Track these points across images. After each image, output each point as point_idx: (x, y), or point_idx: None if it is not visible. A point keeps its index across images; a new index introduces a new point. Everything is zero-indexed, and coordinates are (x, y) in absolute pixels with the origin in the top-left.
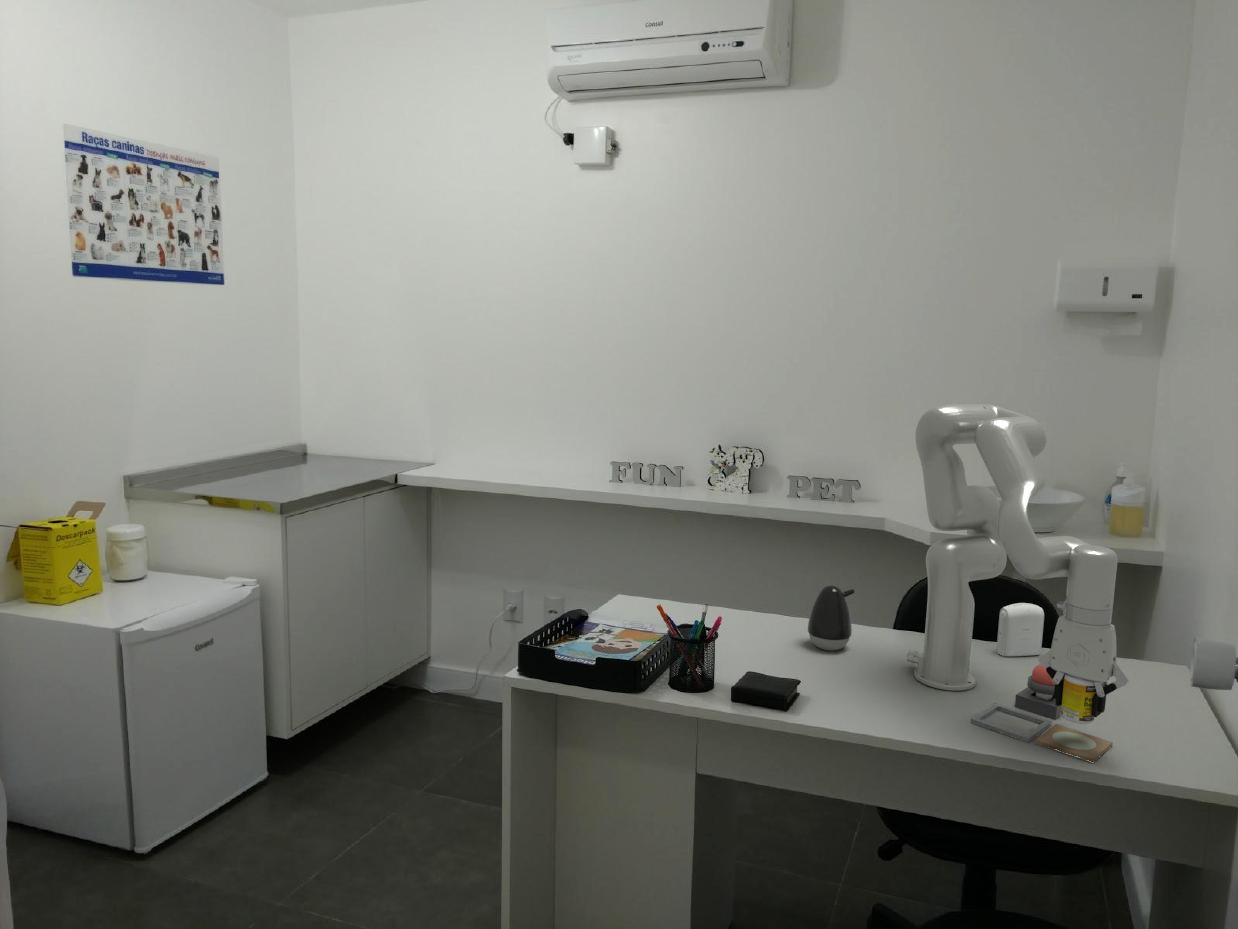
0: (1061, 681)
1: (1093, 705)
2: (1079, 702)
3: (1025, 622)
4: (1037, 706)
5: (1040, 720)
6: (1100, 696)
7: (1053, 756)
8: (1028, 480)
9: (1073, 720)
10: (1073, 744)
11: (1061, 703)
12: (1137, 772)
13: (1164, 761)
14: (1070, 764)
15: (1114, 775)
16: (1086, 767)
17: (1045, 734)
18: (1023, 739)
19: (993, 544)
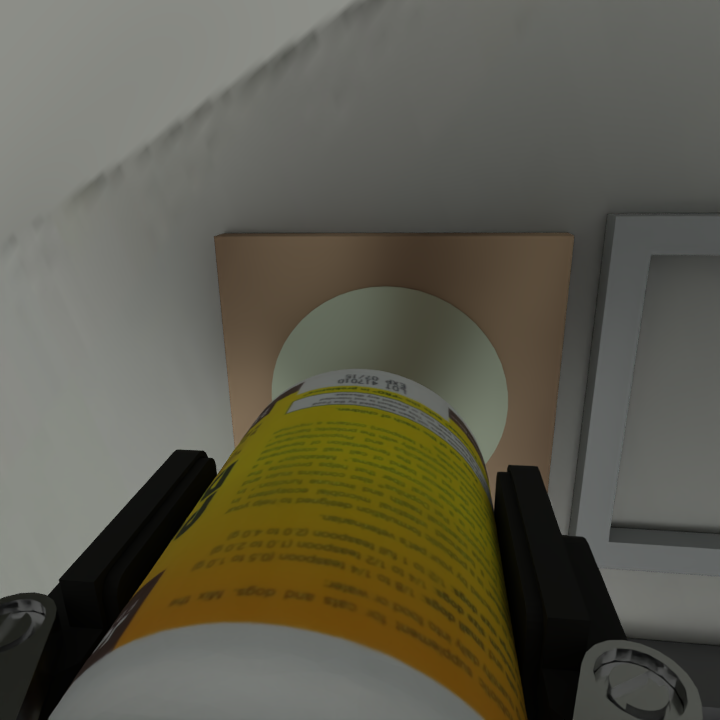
0: (561, 716)
1: (161, 512)
2: (266, 459)
3: None
4: (697, 678)
5: (631, 540)
6: (29, 599)
7: (417, 142)
8: None
9: (345, 369)
10: (368, 346)
11: (496, 517)
12: (49, 316)
13: (44, 524)
14: (303, 113)
15: (93, 180)
16: (227, 154)
17: (546, 365)
18: (646, 215)
19: None
